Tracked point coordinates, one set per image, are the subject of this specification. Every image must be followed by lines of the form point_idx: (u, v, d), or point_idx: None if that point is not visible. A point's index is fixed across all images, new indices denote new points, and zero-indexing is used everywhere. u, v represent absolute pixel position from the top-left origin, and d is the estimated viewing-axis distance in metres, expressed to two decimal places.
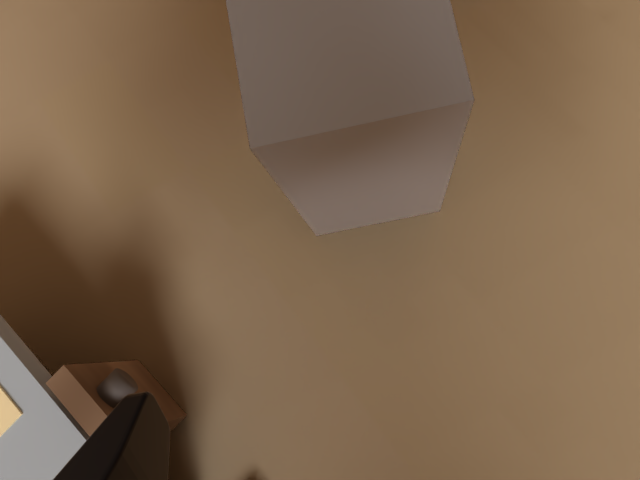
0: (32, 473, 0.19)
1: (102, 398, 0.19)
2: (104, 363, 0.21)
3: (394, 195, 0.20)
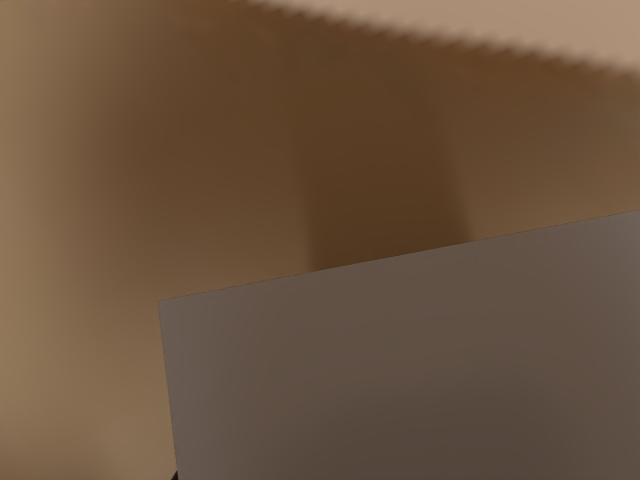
0: None
1: None
2: None
3: None
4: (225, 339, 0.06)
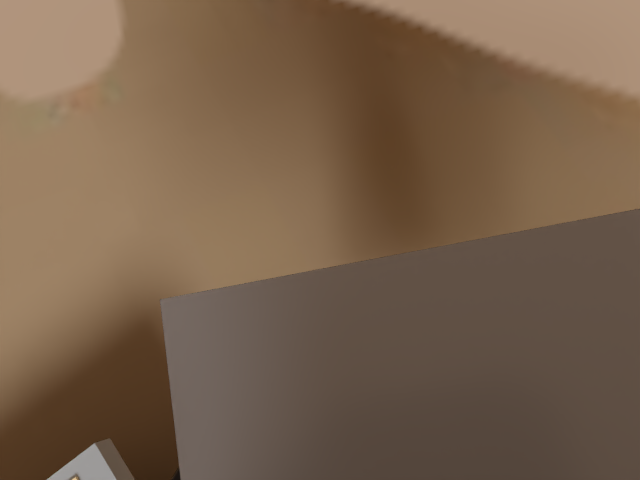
0: None
1: None
2: None
3: None
4: (227, 338, 0.06)
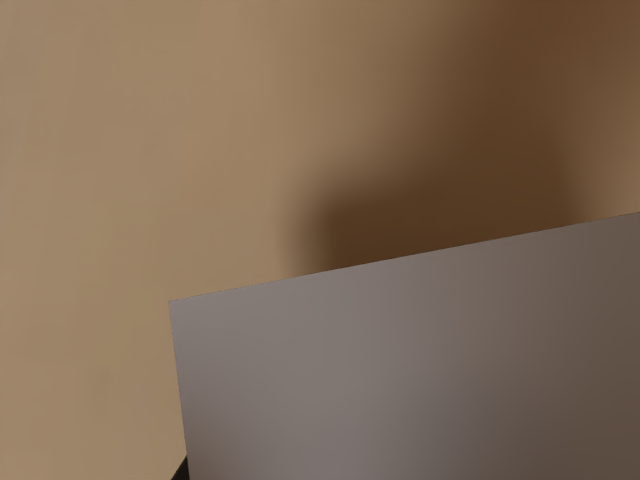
0: None
1: None
2: None
3: None
4: (232, 338, 0.06)
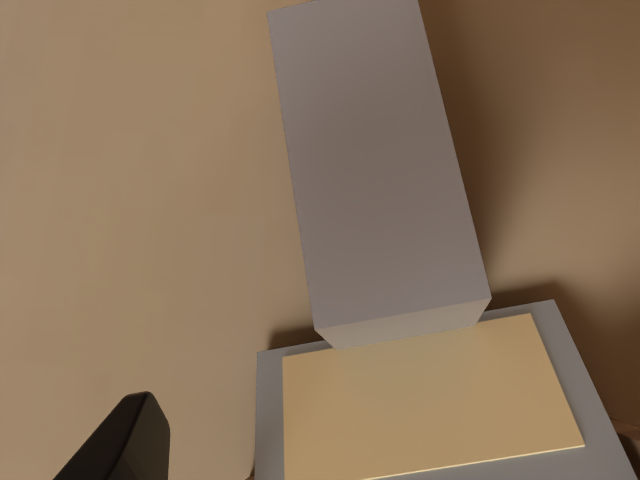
0: None
1: None
2: None
3: (399, 178, 0.18)
4: None
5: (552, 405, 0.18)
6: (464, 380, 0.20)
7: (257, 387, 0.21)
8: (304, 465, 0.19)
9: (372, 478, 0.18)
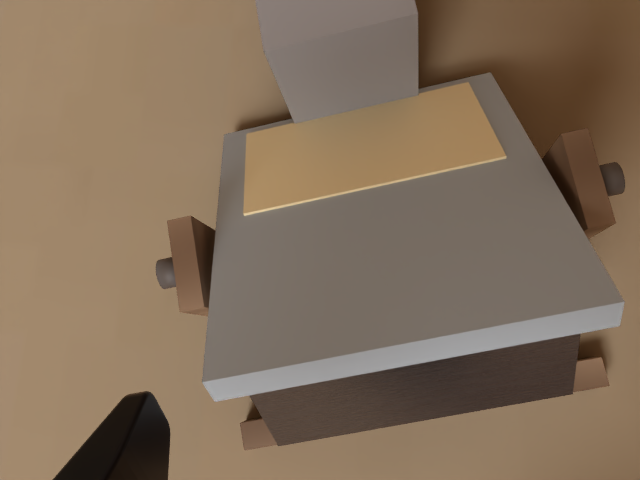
0: (491, 195, 0.19)
1: None
2: None
3: None
4: None
5: (481, 137, 0.21)
6: (406, 129, 0.22)
7: (223, 155, 0.24)
8: (261, 197, 0.21)
9: (320, 198, 0.20)
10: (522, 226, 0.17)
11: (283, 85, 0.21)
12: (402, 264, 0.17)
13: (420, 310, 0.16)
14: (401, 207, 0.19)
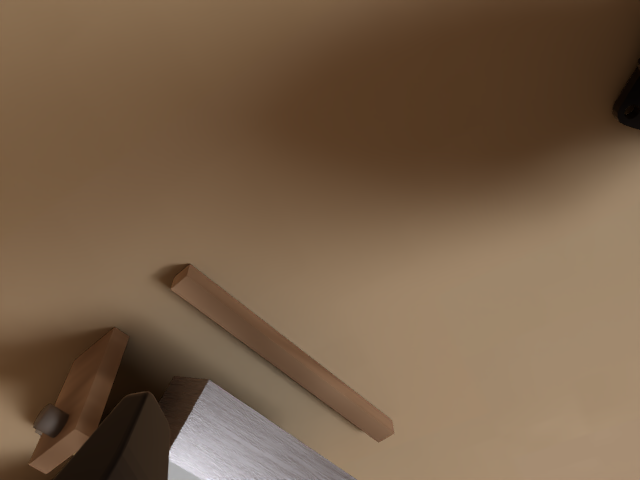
0: None
1: (55, 435, 0.23)
2: None
3: None
4: None
5: None
6: None
7: None
8: None
9: None
10: None
11: None
12: None
13: None
14: None
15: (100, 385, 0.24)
